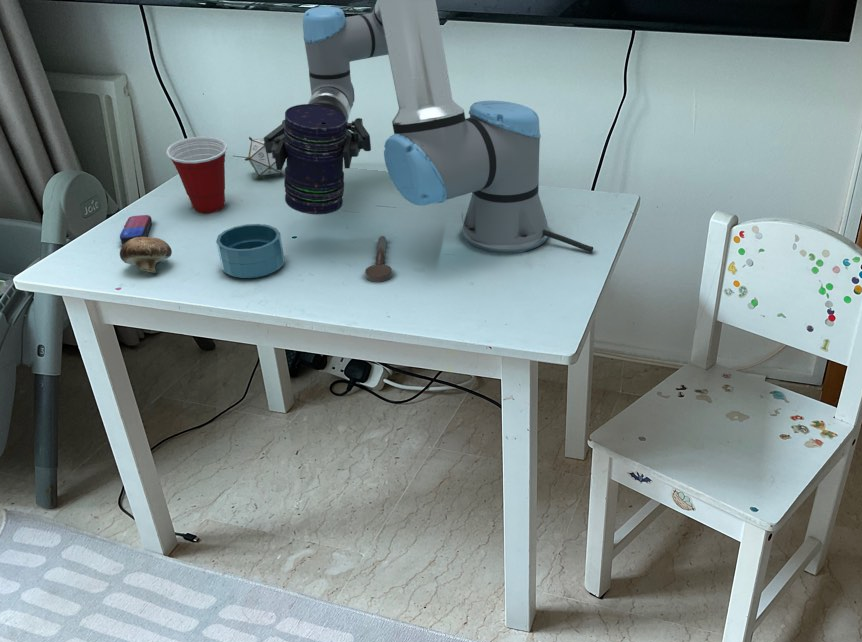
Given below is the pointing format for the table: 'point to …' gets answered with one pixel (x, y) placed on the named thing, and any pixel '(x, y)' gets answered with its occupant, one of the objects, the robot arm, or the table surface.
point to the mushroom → (145, 252)
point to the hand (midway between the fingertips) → (312, 161)
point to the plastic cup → (201, 171)
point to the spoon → (379, 264)
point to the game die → (261, 159)
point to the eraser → (136, 227)
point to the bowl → (250, 250)
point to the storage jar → (314, 158)
